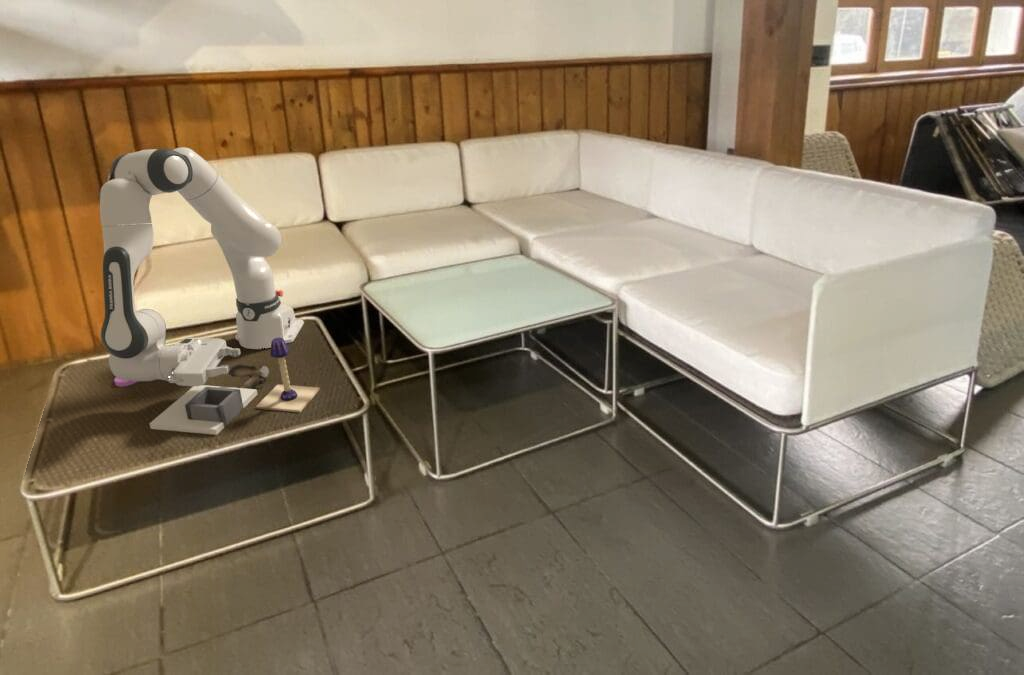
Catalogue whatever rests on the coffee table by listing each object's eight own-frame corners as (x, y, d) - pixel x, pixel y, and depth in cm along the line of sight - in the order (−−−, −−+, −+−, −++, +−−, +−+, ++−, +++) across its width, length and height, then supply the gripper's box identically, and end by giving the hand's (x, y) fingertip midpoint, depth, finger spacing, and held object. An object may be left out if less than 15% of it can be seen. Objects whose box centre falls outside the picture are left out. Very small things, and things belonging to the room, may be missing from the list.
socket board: (196, 389, 200) (192, 371, 198) (257, 394, 197) (254, 375, 195) (150, 428, 182) (145, 409, 180) (216, 434, 179) (212, 415, 177)
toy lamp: (291, 402, 191) (281, 344, 184) (275, 401, 192) (264, 342, 185) (300, 393, 196) (291, 335, 189) (284, 392, 197) (274, 334, 190)
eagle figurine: (254, 370, 207) (224, 377, 200) (262, 353, 203) (232, 360, 196) (267, 391, 205) (238, 398, 198) (276, 374, 201) (246, 381, 194)
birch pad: (277, 386, 201) (277, 384, 201) (319, 389, 199) (319, 387, 198) (256, 408, 190) (255, 406, 190) (300, 412, 188) (299, 410, 188)
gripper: (160, 370, 178) (218, 368, 178) (190, 334, 197) (243, 333, 197) (165, 393, 181) (223, 391, 181) (194, 356, 199) (247, 354, 200)
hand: (233, 360), depth 189 cm, fingers open, 8 cm apart
